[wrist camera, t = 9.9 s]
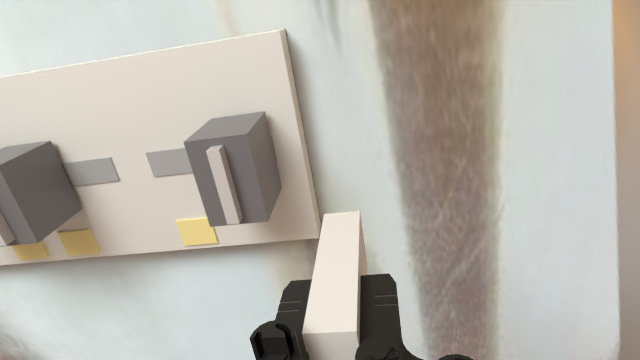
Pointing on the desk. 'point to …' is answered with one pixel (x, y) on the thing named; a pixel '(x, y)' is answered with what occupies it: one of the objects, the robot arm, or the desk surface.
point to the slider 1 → (33, 193)
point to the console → (157, 145)
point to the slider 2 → (235, 169)
